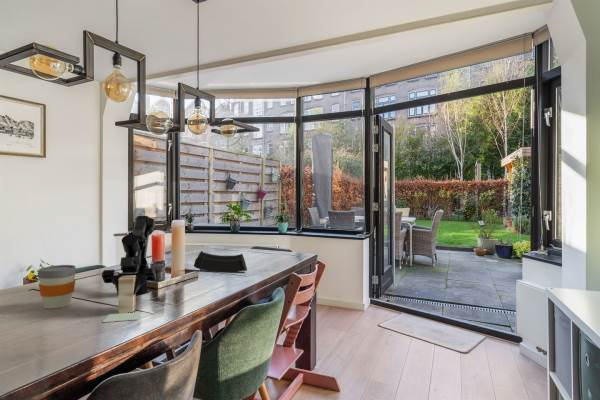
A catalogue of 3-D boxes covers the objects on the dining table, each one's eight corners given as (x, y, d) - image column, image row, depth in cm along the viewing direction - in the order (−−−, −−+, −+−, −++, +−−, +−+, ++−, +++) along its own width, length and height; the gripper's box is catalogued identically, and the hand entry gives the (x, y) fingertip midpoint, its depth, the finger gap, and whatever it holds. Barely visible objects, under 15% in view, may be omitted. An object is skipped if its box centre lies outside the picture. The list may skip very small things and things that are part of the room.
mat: (108, 315, 129) (108, 314, 129) (141, 312, 132) (141, 311, 132) (102, 322, 121) (102, 321, 121) (136, 320, 124) (136, 319, 124)
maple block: (121, 309, 136) (121, 275, 136) (135, 308, 137) (135, 275, 137) (118, 313, 131) (118, 278, 131) (132, 312, 132) (133, 278, 132)
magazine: (251, 256, 202) (203, 239, 206) (249, 257, 199) (200, 240, 203) (242, 284, 203) (194, 267, 207) (241, 286, 200) (192, 268, 204)
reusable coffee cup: (33, 312, 132) (33, 272, 131) (43, 302, 143) (42, 266, 143) (73, 308, 137) (72, 269, 136) (78, 299, 148) (78, 263, 148)
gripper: (102, 249, 135) (93, 284, 124) (154, 247, 140) (150, 282, 129) (108, 265, 143) (100, 300, 132) (157, 263, 147) (153, 297, 137)
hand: (126, 294), depth 132 cm, fingers closed on maple block, 5 cm apart
